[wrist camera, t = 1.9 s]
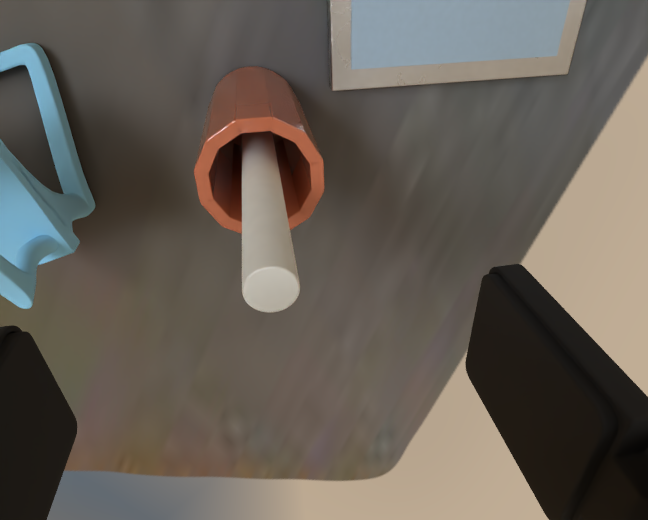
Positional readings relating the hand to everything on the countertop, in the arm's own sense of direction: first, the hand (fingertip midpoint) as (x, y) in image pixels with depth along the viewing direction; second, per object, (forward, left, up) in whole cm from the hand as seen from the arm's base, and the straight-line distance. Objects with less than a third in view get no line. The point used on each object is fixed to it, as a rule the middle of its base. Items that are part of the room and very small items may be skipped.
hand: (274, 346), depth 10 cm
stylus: (0, 0, -17) cm, 17 cm away
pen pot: (0, 0, -17) cm, 17 cm away
